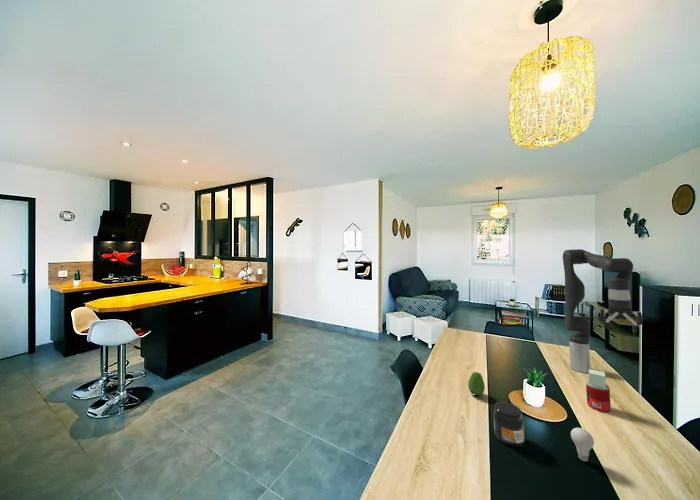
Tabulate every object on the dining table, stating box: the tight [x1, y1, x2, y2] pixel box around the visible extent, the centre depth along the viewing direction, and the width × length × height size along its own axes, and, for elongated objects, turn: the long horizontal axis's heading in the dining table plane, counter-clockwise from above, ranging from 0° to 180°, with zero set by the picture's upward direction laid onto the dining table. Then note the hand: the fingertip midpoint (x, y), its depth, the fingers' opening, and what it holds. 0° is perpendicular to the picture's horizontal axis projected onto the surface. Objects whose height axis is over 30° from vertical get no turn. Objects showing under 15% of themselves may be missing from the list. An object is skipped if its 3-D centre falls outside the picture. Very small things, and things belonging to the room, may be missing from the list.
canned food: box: [585, 380, 612, 413], centre depth 118 cm, size 8×8×11 cm
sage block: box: [588, 368, 607, 388], centre depth 118 cm, size 6×6×6 cm
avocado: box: [467, 371, 485, 396], centre depth 132 cm, size 8×8×12 cm
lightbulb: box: [570, 427, 595, 462], centre depth 89 cm, size 6×6×11 cm
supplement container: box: [492, 401, 526, 447], centre depth 101 cm, size 10×10×12 cm
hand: (621, 331), depth 123 cm, fingers open, 8 cm apart
